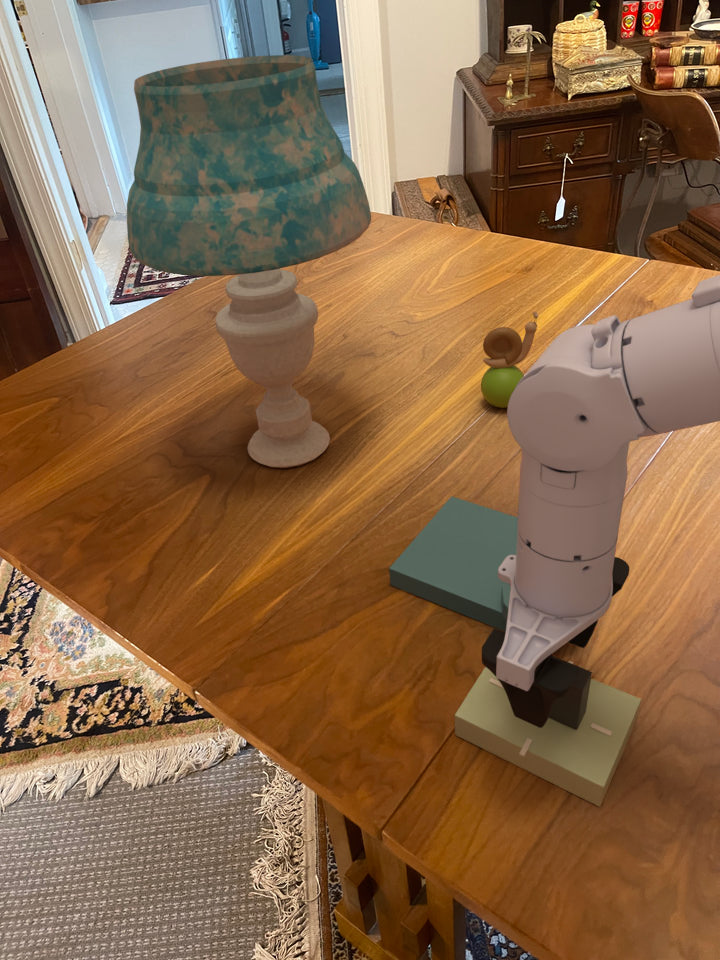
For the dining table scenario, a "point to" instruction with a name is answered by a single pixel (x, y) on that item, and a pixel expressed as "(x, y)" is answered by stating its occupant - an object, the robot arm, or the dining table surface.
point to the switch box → (461, 561)
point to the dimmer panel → (552, 736)
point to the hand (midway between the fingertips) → (551, 677)
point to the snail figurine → (505, 362)
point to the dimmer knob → (573, 700)
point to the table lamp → (248, 216)
